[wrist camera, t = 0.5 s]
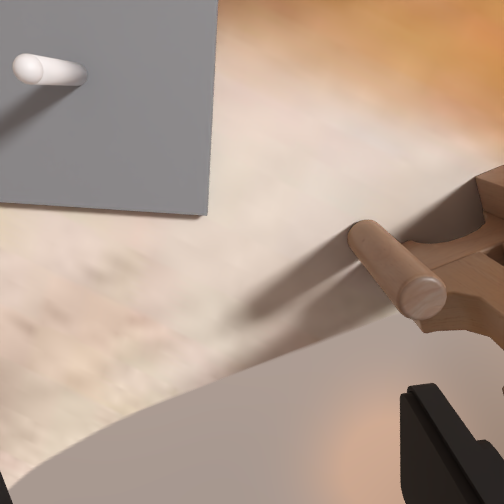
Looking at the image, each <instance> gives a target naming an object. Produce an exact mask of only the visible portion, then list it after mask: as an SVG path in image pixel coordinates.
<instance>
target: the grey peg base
mask: <svg viewBox="0 0 504 504" xmlns="http://www.w3.org/2000/svg"><path fill="white" fill-rule="evenodd" d="M217 16H218V0H0V202H6V203H21V204H36V205H52V206H67V207H82V208H97V209H113V210H128V211H143V212H159V213H174V214H189V215H204V216H207V213H208V195H209V175H210V155H211V135H212V115H213V95H214V76H215V56H216V36H217Z"/></svg>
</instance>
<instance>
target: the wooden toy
mask: <svg viewBox="0 0 504 504" xmlns="http://www.w3.org/2000/svg"><path fill="white" fill-rule="evenodd" d="M475 179H476V183H477V187H478V191H479V196H480V199H481V203H482V207H483V210H484V211H483V216H484V220H485V224H484V225H483V226H482V227H480V228H479V229H478V230H476V231H474V232H472V233H470V234H468V235H466V236H464V237H461V238H458V239H455V240H452V241H448V242H442V243H434V244H426V243H417V242H415V241H412V240H409V241H406V242H404V243H400V242H398V241H397V240H396V239H395V238H394V237H393V236H392V235H391V234H389V233H388V232H387V231H386V230H385V229H384V228H383V227H382V226H380V225H379V224H378V223H377V222H375V221H373V220H362V221H359V222H358V223H356V224H354V226H353V227H352V228H351V229H350V231H349V233H348V238H347V240H348V245H349V247H350V248H351V250H352V251H353V252H354V254H355V255H356V256H357V258H358V259H359V260H360V261H361V263H362V264H363V265H364V267H365V268H366V269H367V270H368V272H369V273H370V274H371V276H372V277H373V278H374V280H375V281H376V282H377V283H378V285H379V286H380V287H381V289H382V290H383V291H384V292H385V294H386V295H387V296H388V298H389V299H390V300H391V302H392V303H393V304H394V305H395V307H396V308H397V309H398V311H399V312H400V313H401V314H402V315H404V316H405V317H407V318H410V319H413V321H414V322H415V323H416V324H417V325H418V327H419V328H420V329H421V330H422V332H424V333H430V332H434V331H448V330H467V331H470V332H474V333H478V334H481V335H484V336H488V337H490V338H491V339H493V341H494V342H496V343H497V344H498V345H499V346H500V347H501V348H502V349H503V350H504V165H502V166H500V167H497V168H495V169H493V170H490V171H488V172H485V173H483V174H480V175H478V176H476V177H475ZM502 390H503V394H504V387H503V388H502Z"/></svg>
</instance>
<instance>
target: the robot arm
mask: <svg viewBox="0 0 504 504" xmlns="http://www.w3.org/2000/svg"><path fill="white" fill-rule="evenodd" d="M400 458H401V459H400V467H401V468H400V471H401V472H400V473H401V475H400V477H401V490H402V494H403V498H404V500H405V503H406V504H504V460H503V458H502V457H501V456H500V454H499V453H498V451H497V450H496V449H495V448H494V447H493V446H492V444H491V443H490V442H488V441H486V440H478V441H476V440H475V438H474V437H473V435H472V434H471V433H470V431H469V430H468V428H467V427H466V426H465V424H464V423H463V421H462V420H461V419H460V417H459V416H458V415H457V413H456V412H455V410H454V409H453V407H452V406H451V405H450V403H449V402H448V401H447V399H446V398H445V396H444V395H443V393H442V392H441V391H440V389H439V388H438V387H437V385H436V384H434V383H430V384H421V385H413V386H409V387H408V389H407V393H403V394H401V396H400ZM0 504H13V503H12V500H11V498H10V495H9V493H8V490H7V487H6V485H5V482H4V480H3V477H2V475H1V472H0Z"/></svg>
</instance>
